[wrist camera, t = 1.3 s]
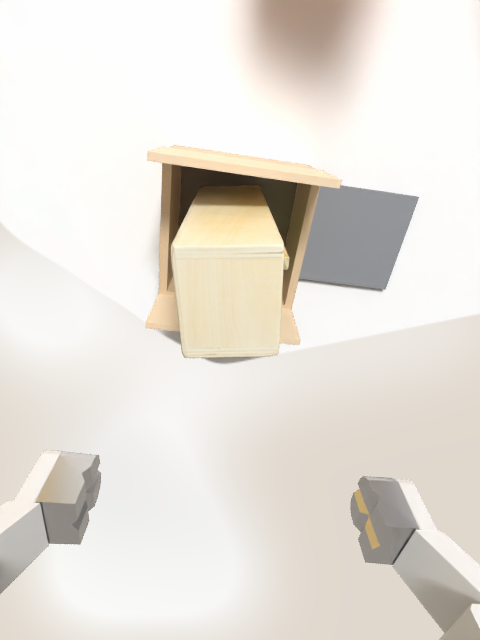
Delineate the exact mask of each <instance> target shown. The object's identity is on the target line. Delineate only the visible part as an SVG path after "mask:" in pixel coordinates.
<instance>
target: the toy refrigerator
mask: <svg viewBox="0 0 480 640" xmlns="http://www.w3.org/2000/svg"><path fill="white" fill-rule="evenodd" d="M171 263H172V271H173V279H174V288H175V296H176V305H177V313H178V322H179V331H180V339H181V348H182V354H183V356H184V357H186V358H218V357H265V356H275V355H277V354H278V353H279V344H280V325H281V306H282V287H283V270H287V269H288V267H289V256H288V254H287V251H286V249H285V247H284V243H283V240H282V238H281V235H280V233H279V231H278V228H277V226H276V223H275V221H274V219H273V216H272V214H271V212H270V210H269V207H268V205H267V203H266V200H265V198H264V195H263V193H262V190H261V188H260V186H201V187H200V188H199V190H198V192H197V194H196V196H195V198H194V200H193V202H192V204H191V206H190V208H189V210H188V212H187V214H186V216H185V218H184V220H183V222H182V224H181V226H180V228H179V230H178V233H177V235H176V237H175V238H174V240H173V242H172V245H171Z"/></svg>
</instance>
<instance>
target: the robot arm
mask: <svg viewBox="0 0 480 640" xmlns="http://www.w3.org/2000/svg"><path fill="white" fill-rule="evenodd" d="M99 464H100V459H99V455H92V454H82V453H74V452H65V451H53V450H45V451H44V452H43V453H42V454H41V455H40V457H39V459H38V460H37V462H36V464H35V465H34V467H33V469H32V470H31V472H30V474H29V476H28V477H27V479H26V481H25V482H24V484H23V486H22V487H21V489H20V491H19V493H18V494H17V496H16V498H15V499H14V501H7V502H6V503H4V504H3V505H1V506H0V594H1V593H2V592H3V591H4V590H5V589H6V588H7V587H8V586H9V585H10V584H11V583H12V582H13V581H14V580H15V579H16V578H17V577H18V576H19V575H20V574H21V573H22V572H23V571H24V570H25V569H26V568H27V567H28V566H29V565H30V564H31V563H32V562H33V561H34V560H35V559H36V558H37V557H38V556H39V555H40V553H42V552H43V550H45V549H46V548H47V547H48V545H49V544H48V543H52V544H80V543H81V541H82V539H83V536H84V533H85V531H86V528H87V525H88V522H89V515H88V511H89V510H91V508H93V507H94V506H95V503H96V500H97V497H98V493H99V489H100V483H101V473H100V472H99V471H98V470H97V469H98V466H99ZM358 485H359V488H360V489H359V490H357V491H356V492H354V493H353V496H352V499H351V516H352V520H353V523H354V525H355V526H356V527H357V528H358V530H359V531H360V532H361V533H360V536H359V539H358V540H359V543H360V546H361V550H362V553H363V556H364V559H365V562H369V563H380V564H390V565H393V568H394V569H395V570H396V572H397V573H398V574H399V575H400V577H401V578H402V579H403V581H404V582H405V583H406V584H407V586H408V587H409V588H410V590H411V591H412V592H413V593H414V595H415V596H416V597H417V598H418V600H419V601H420V602H421V604H422V605H423V606H424V607H425V609H426V610H427V611H428V613H429V614H430V615H431V616H432V618H433V619H434V620H435V621H436V623H437V624H438V625H439V627H440V628H441V629H442V630H443V632H444V633H445V634H444V635H443V636H442V637H441V638H440V639H439V640H480V565H478V563H476V562H475V561H474V560H473V559H472V558H471V557H470V556H469V555H468V554H466V552H464V551H463V550H462V549H461V548H460V547H459V546H458V545H457V544H456V543H454V542H453V541H452V540H451V539H450V538H449V537H448V536H447V535H446V534H444V533H443V532H442V531H437V529H436V527H435V525H434V523H433V521H432V519H431V517H430V515H429V513H428V511H427V509H426V507H425V506H424V503H423V501H422V499H421V498H420V495H419V493H418V491H417V490H416V488H415V486H414V484H413V483H412V482H411V481H410V480H404V479H393V478H382V477H367V476H363V477H362V478H361V479H360V480H359V482H358Z"/></svg>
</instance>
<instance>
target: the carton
mask: <svg viewBox="0 0 480 640" xmlns="http://www.w3.org/2000/svg"><path fill="white" fill-rule="evenodd" d="M147 161H153V162H160V163H162V197H161V230H160V264H159V294H158V296H157V299H156V301H155V303H154V305H153V307H152V310H151V312H150V314H149V316H148V318H147V321H146V328H149V329H158V330H167V331H176V332H180V331H179V322H178V313H177V305H176V296H175V288H174V279H173V271H172V263H171V245H172V242H173V240H174V238H175V237H176V235H177V233H178V230H179V212H180V193H181V175H182V166H187V167H194V168H201V169H208V170H215V171H222V172H228V173H235V174H242V175H249V176H256V177H263V178H270V179H276V180H283V181H290V182H297V188H296V193H295V198H294V203H293V208H292V213H291V218H290V223H289V228H288V233H287V238H286V243H285V249H286V251H287V254H288V256H289V267H288V269H287V270H283V287H282V306H281V325H280V343H284V344H293V345H299V344H300V336H299V333H298V330H297V326H296V323H295V320H294V316H293V313H292V305H293V301H294V297H295V292H296V288H297V284H298V280H299V275H300V271H301V267H302V262H303V258H304V254H305V249H306V245H307V241H308V237H309V232H310V228H311V224H312V219H313V215H314V211H315V206H316V202H317V198H318V193H319V189H320V186H324V187H331V188H338V189H340V185H341V181H342V180H341V179H339V178H337V177H335V176H333V175H331V174H329V173H327V172H325V171H322V170H317V169H315V168H313V167H311V166H309V165H304V164H298V163H291V162H284V161H278V160H271V159H264V158H258V157H251V156H244V155H238V154H231V153H224V152H218V151H211V150H204V149H198V148H191V147H184V146H178V145H174V146H171V147H160V148H157V149H154V150H150V151H148V156H147Z"/></svg>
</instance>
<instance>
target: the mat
mask: <svg viewBox="0 0 480 640" xmlns="http://www.w3.org/2000/svg"><path fill="white" fill-rule="evenodd" d="M418 198H419V197H416V196H409V195H403V194H396V193H389V192H382V191H375V190H369V189H362V188H355V187H348V186H341V185H340V189H338V188H331V187H324V186H320V189H319V193H318V198H317V202H316V206H315V211H314V215H313V219H312V224H311V228H310V232H309V237H308V241H307V245H306V249H305V254H304V258H303V262H302V267H301V271H300V275H299V279H306V280H313V281H321V282H329V283H337V284H345V285H353V286H361V287H369V288H377V289H386V286H387V284H388V281H389V278H390V275H391V273H392V270H393V267H394V264H395V262H396V259H397V256H398V253H399V251H400V248H401V245H402V242H403V240H404V237H405V234H406V231H407V229H408V226H409V223H410V220H411V218H412V215H413V212H414V209H415V207H416V204H417V201H418Z"/></svg>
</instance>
